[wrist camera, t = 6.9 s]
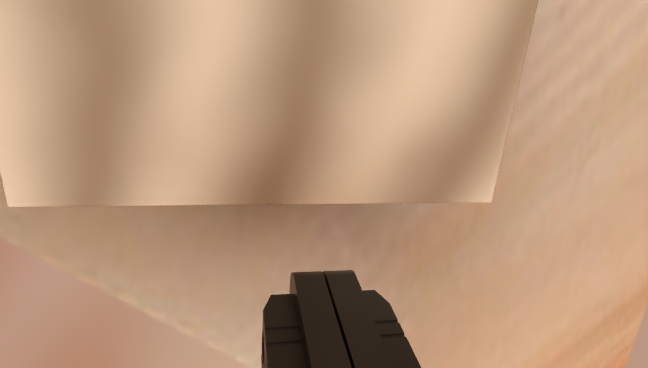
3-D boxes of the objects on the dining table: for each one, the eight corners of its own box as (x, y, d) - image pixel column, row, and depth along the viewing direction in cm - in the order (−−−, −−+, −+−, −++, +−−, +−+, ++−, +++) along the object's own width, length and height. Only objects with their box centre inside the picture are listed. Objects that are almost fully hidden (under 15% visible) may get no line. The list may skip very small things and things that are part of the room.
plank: (24, 193, 15) (7, 206, 14) (-29, -78, 12) (-55, -86, 11) (476, 191, 19) (491, 202, 18) (522, -19, 16) (543, -22, 15)
